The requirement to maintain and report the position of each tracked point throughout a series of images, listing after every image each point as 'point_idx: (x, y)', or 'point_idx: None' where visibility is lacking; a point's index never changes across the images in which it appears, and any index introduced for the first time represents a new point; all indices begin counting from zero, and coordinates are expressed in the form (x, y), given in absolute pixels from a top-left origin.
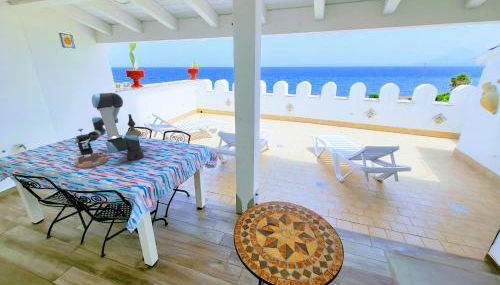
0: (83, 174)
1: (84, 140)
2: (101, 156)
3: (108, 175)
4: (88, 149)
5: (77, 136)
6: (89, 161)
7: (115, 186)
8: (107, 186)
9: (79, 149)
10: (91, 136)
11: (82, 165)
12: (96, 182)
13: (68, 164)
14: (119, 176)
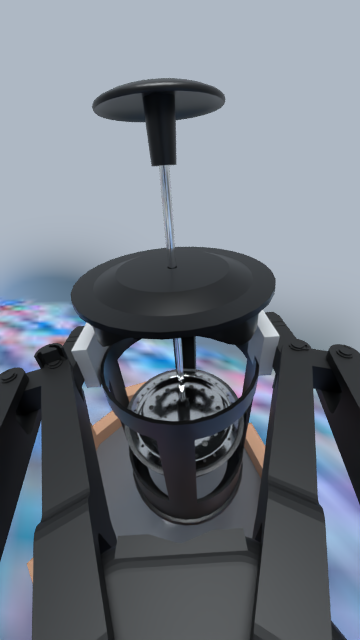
0: (141, 353)
1: (219, 420)
2: None
3: None
4: (199, 505)
5: (233, 259)
6: (135, 391)
7: (32, 308)
8: (51, 308)
9: (195, 353)
10: (72, 507)
11: None
12: (81, 319)
13: (327, 463)
14: (12, 341)
